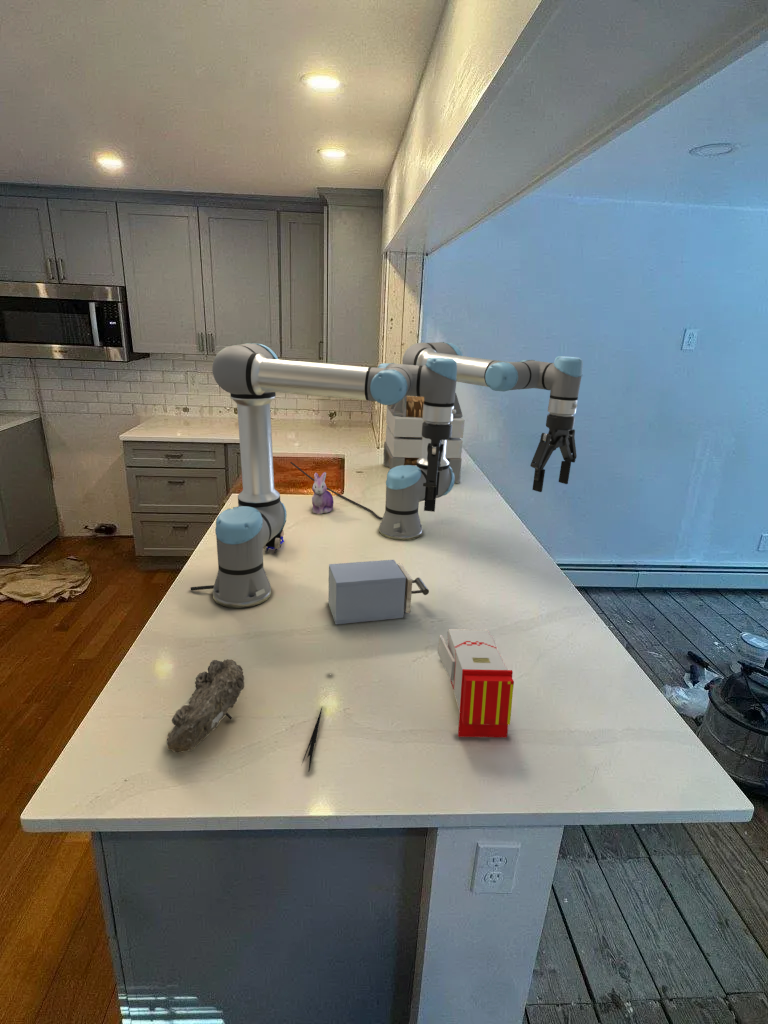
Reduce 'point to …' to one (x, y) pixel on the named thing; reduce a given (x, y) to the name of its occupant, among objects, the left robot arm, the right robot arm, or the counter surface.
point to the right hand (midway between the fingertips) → (550, 486)
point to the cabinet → (366, 591)
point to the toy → (478, 682)
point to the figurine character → (275, 541)
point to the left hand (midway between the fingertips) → (431, 502)
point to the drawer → (409, 588)
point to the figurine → (321, 495)
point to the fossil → (206, 705)
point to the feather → (313, 740)
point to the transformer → (418, 435)
